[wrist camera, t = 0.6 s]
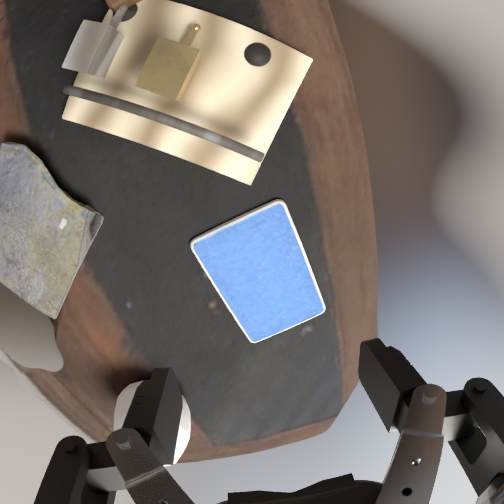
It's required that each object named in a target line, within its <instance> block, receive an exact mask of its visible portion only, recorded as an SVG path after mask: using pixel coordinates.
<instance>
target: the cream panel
mask: <svg viewBox="0 0 504 504" xmlns="http://www.w3.org/2000/svg"><path fill="white" fill-rule="evenodd" d="M193 24H199V25H200V26H201V30H200V31H199V32H198V34H197V36H196V37H195V39H194V41H193V43H192V45H191V47H194V48H197V49H199V50H200V52H201V61H200V63H199V65H198V67H197V69H196V71H195V73H194V75H193V77H192V79H191V81H190V83H189V85H188V87H187V89H186V91H185V93H184V96H183V98H182V100H181V102H178V101H176V100H173V99H170V98H167V97H164V96H161V95H158V94H155V93H152V92H149V91H146V90H143V89H140V88H138V87H135V84H136V81H137V79H138V77H139V75H140V73H141V70H142V68H143V66H144V64H145V62H146V60H147V58H148V56H149V54H150V52H151V50H152V48H153V46H154V44H155V42H156V40H157V38H158V36H159V37H163V38H166V39H169V40H173V41H176V42H179V43H182V44H183V42H184V40H185V38H186V36H187V35H188V33H189V31H190V29H191V26H192V25H193ZM312 61H313V59H311V58H310V57H308V56H306V55H304V54H302V53H300V52H299V51H297V50H295V49H293V48H291V47H289V46H287V45H285V44H283V43H281V42H279V41H277V40H275V39H273V38H270V37H268V36H266V35H264V34H262V33H259V32H257V31H255V30H253V29H250V28H248V27H245V26H243V25H241V24H238V23H236V22H233V21H231V20H228V19H225V18H223V17H220V16H217V15H214V14H211V13H209V12H206V11H203V10H199V9H196V8H193V7H190V6H187V5H183V4H180V3H176V2H173V1H169V0H142V1H140V2H138V3H136V4H134V5H132V6H130V7H128V6H127V5H123V6H121V7H120V8H119V9H118V10H117V12H116V13H114V12H113V11H112V10H111V9H109V10H108V12H107V14H106V16H105V18H104V19H103V21H102V23H100V22H95V21H89V20H83V22H82V24H81V26H80V28H79V30H78V32H77V34H76V36H75V38H74V40H73V43H72V45H71V47H70V49H69V51H68V54H67V56H66V58H65V61H64V63H63V65H62V68H66V69H70V70H74V71H78V75H77V77H76V80H75V82H74V85H73V86H72V85H68V84H67V85H66V86H65V87H64V90H63V93H64V94H67V95H70V96H69V98H68V101H67V104H66V107H65V110H64V113H63V116H62V119H65V120H69V121H72V122H75V123H79V124H82V125H85V126H89V127H92V128H95V129H98V130H101V131H105V132H108V133H111V134H114V135H117V136H120V137H123V138H126V139H129V140H132V141H135V142H138V143H141V144H143V145H146V146H149V147H152V148H155V149H158V150H160V151H163V152H166V153H169V154H171V155H174V156H177V157H180V158H182V159H185V160H188V161H190V162H193V163H196V164H198V165H201V166H203V167H206V168H208V169H211V170H214V171H216V172H219V173H221V174H224V175H226V176H229V177H231V178H234V179H236V180H239V181H241V182H243V183H246V184H248V185H251V184H252V182H253V180H254V178H255V175H256V173H257V171H258V169H259V167H260V165H261V163H262V161H263V159H264V157H265V155H266V153H267V150H268V148H269V146H270V144H271V142H272V140H273V138H274V136H275V134H276V132H277V130H278V128H279V126H280V124H281V122H282V120H283V118H284V116H285V114H286V112H287V110H288V108H289V106H290V104H291V102H292V100H293V98H294V96H295V94H296V92H297V90H298V88H299V86H300V84H301V82H302V80H303V78H304V76H305V74H306V72H307V70H308V69H309V67H310V65H311V63H312Z"/></svg>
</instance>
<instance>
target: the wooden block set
mask: <svg viewBox="0 0 504 504" xmlns="http://www.w3.org/2000/svg"><path fill="white" fill-rule="evenodd" d="M105 1H106V3H107V5H108V7H109V8H110V9H111V10H112V11H113V12H114V13H116V12H117V10H118V9H119V8H120V7H121V6H123V5H127V6H128V7H130V6H132V5H134V4H136V3H138V2H140V1H142V0H105Z"/></svg>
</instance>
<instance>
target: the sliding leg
mask: <svg viewBox="0 0 504 504" xmlns="http://www.w3.org/2000/svg"><path fill="white" fill-rule="evenodd" d="M200 30H201V26H200V25H199V24H193V25H192V26H191V29H190V31H189V33H188V35H187V36H186V38H185V40H184V42H183V44H182V43H179V42H176V41H173V40H169V39H166V38H163V37H159V36H158V38H157V40H156V42H155V44H154V46H153V48H152V50H151V52H150V54H149V56H148V58H147V60H146V62H145V64H144V66H143V68H142V70H141V73H140V75H139V77H138V79H137V81H136V84H135V87H138V88H140V89H143V90H146V91H149V92H152V93H155V94H158V95H161V96H164V97H167V98H170V99H173V100H176V101H178V102H181V100H182V98H183V96H184V93H185V91H186V89H187V87H188V85H189V83H190V81H191V79H192V77H193V75H194V73H195V71H196V69H197V67H198V65H199V63H200V61H201V52H200V50H199V49H197V48H194V47H191V45H192V43H193V41H194V39H195V37H196V36H197V34H198V32H199V31H200Z"/></svg>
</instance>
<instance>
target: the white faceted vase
mask: <svg viewBox="0 0 504 504" xmlns="http://www.w3.org/2000/svg"><path fill="white" fill-rule="evenodd" d="M143 381H144V380H143ZM143 381H139V382H136V383H132V384H129V385H128V386H127V387H126V388H125V389H124V390H123V391H122V392H121V393H120V395H119V396H118V398H117V402H116V407H115V414H114V431H116V430H118V429H121V428H122V426H123V423H124V420H125V417H126V415H127V412H128V409H129V407H130V405H131V402H132V399H133V398H134V394H135V391H136V389H137V387H138V386H139V385H140V384H141V383H142V382H143ZM182 400H183V408H182V414H181V419H180V425H179V431H178V437H177V442H176V449H175V455H174V461H173V464H175V463H176V462H177V461H178V459H179V458H180V456H181V455H182V453H183V452H184V450H185V448H186V446H187V444H188V441H189V439H190V429H191V420H190V411H189V407H188V404H187V402H186V400H185V398H184V396H182ZM164 466H170V465H164Z"/></svg>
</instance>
